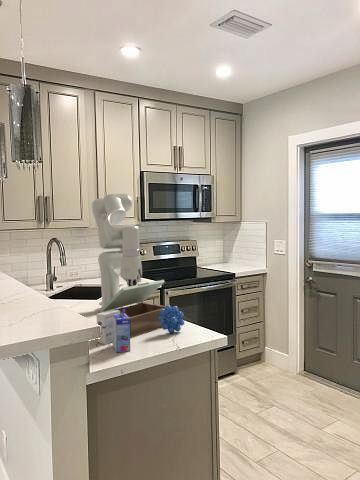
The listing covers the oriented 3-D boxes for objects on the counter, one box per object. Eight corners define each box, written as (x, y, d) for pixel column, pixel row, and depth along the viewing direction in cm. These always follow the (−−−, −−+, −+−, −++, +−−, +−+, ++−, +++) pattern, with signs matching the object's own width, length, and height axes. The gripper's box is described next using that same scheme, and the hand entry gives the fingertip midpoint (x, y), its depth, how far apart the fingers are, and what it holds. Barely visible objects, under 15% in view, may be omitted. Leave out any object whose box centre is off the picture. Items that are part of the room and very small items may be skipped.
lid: (102, 311, 171) (100, 308, 172) (143, 301, 190) (141, 298, 191) (124, 289, 161) (122, 286, 161) (165, 281, 179) (163, 278, 180)
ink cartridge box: (131, 351, 143) (130, 312, 143) (116, 353, 142) (114, 313, 141) (127, 343, 153) (125, 306, 152) (112, 345, 151) (111, 308, 150)
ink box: (113, 337, 162) (112, 308, 161) (121, 339, 159) (120, 310, 158) (97, 342, 155) (95, 313, 154) (105, 344, 152) (103, 314, 151)
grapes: (162, 337, 159) (161, 308, 158) (156, 333, 165) (155, 305, 164) (188, 333, 163) (187, 304, 163) (182, 329, 169) (181, 301, 169)
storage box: (103, 330, 172) (102, 312, 172) (143, 318, 190) (142, 302, 190) (131, 337, 160) (130, 318, 160) (171, 324, 178) (170, 307, 178)
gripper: (113, 253, 177) (115, 293, 179) (136, 255, 167) (137, 298, 169) (126, 251, 183) (127, 290, 184) (148, 253, 173) (149, 294, 174)
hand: (132, 293), depth 177 cm, fingers closed
